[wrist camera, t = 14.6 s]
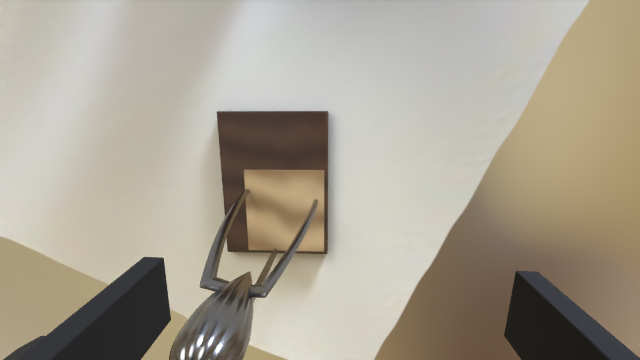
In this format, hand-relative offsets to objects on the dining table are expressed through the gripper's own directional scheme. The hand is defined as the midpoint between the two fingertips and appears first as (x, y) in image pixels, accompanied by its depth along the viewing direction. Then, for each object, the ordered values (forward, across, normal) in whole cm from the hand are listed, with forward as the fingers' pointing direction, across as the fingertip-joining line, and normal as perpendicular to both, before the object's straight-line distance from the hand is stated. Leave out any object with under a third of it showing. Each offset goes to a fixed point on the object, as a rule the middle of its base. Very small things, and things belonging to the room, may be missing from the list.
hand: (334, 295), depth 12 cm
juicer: (+35, -7, -9) cm, 37 cm away
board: (+36, -9, -5) cm, 38 cm away
